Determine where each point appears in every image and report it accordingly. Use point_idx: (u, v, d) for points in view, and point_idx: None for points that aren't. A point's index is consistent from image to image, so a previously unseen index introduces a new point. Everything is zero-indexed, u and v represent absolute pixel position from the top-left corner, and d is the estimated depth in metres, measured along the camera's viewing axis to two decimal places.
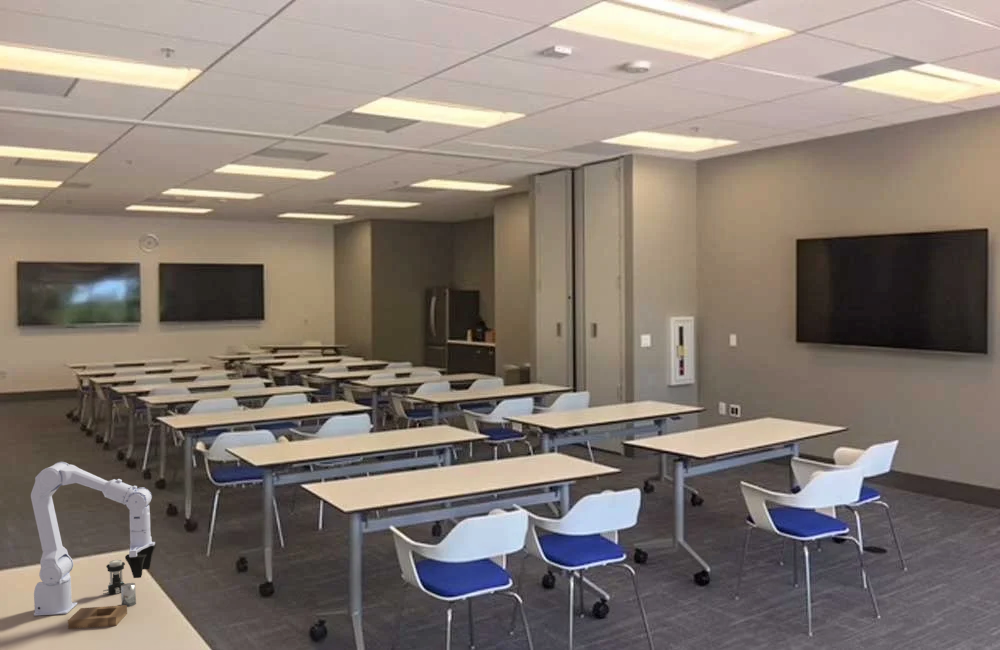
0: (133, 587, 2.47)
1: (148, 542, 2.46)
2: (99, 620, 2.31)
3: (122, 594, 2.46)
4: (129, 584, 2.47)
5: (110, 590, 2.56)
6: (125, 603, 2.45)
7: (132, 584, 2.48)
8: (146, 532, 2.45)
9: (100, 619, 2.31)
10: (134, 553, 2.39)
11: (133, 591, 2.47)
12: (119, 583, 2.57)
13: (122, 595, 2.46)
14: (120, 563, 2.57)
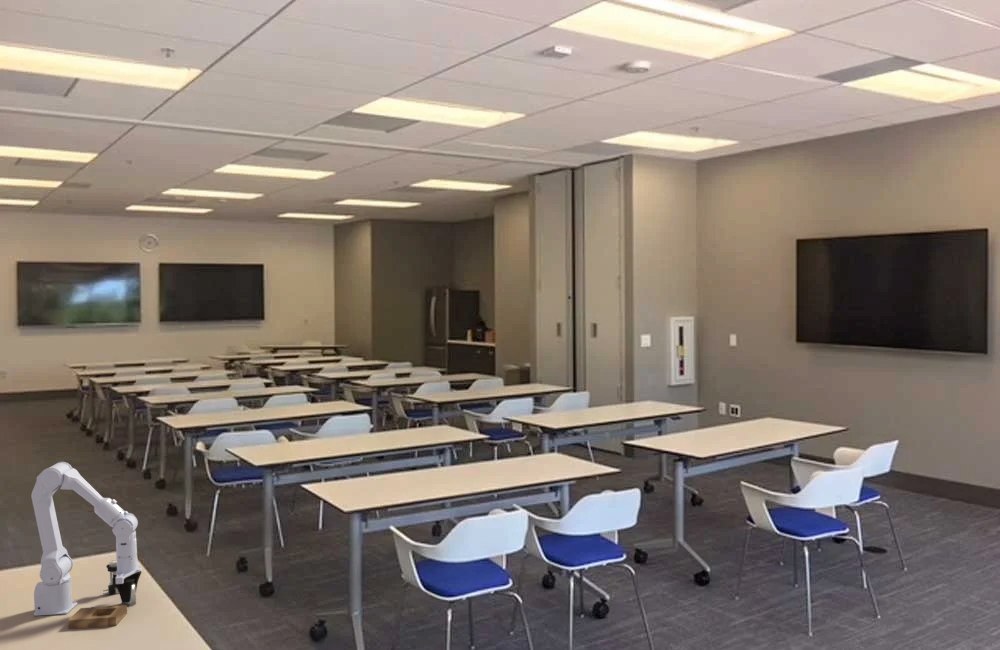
0: (133, 587, 2.47)
1: (135, 568, 2.46)
2: (99, 620, 2.31)
3: None
4: None
5: (110, 590, 2.56)
6: (125, 603, 2.45)
7: None
8: (133, 558, 2.45)
9: (100, 619, 2.31)
10: (121, 579, 2.40)
11: (133, 591, 2.47)
12: None
13: None
14: None
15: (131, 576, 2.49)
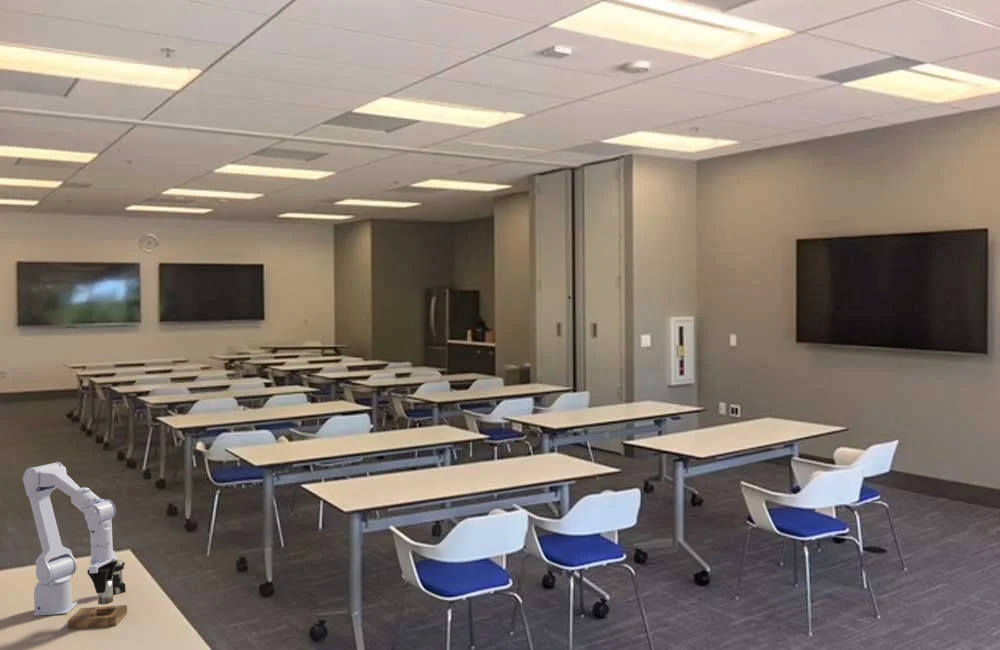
0: (110, 583, 2.35)
1: (110, 557, 2.34)
2: (99, 620, 2.31)
3: None
4: (106, 581, 2.36)
5: None
6: (102, 600, 2.33)
7: (109, 580, 2.36)
8: (108, 547, 2.33)
9: (100, 619, 2.31)
10: (95, 568, 2.28)
11: (110, 587, 2.35)
12: (119, 583, 2.57)
13: None
14: (120, 563, 2.57)
15: (106, 565, 2.37)
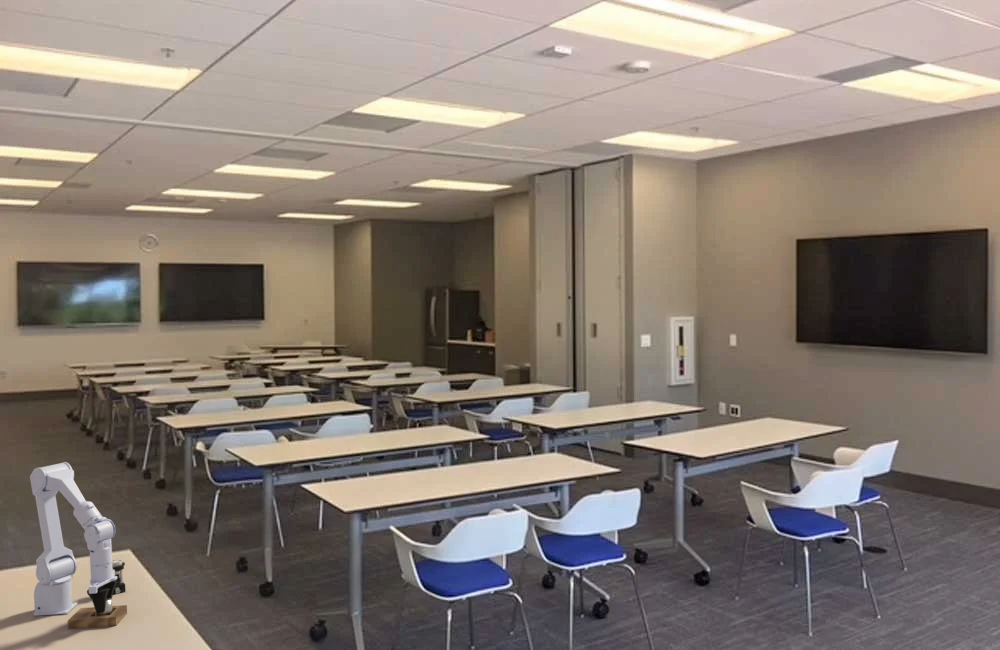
0: (110, 602, 2.35)
1: (110, 577, 2.34)
2: (99, 620, 2.31)
3: None
4: None
5: None
6: None
7: (109, 599, 2.35)
8: (107, 566, 2.33)
9: (100, 619, 2.31)
10: (94, 589, 2.28)
11: (110, 606, 2.35)
12: (119, 583, 2.57)
13: None
14: (120, 563, 2.57)
15: (106, 585, 2.37)
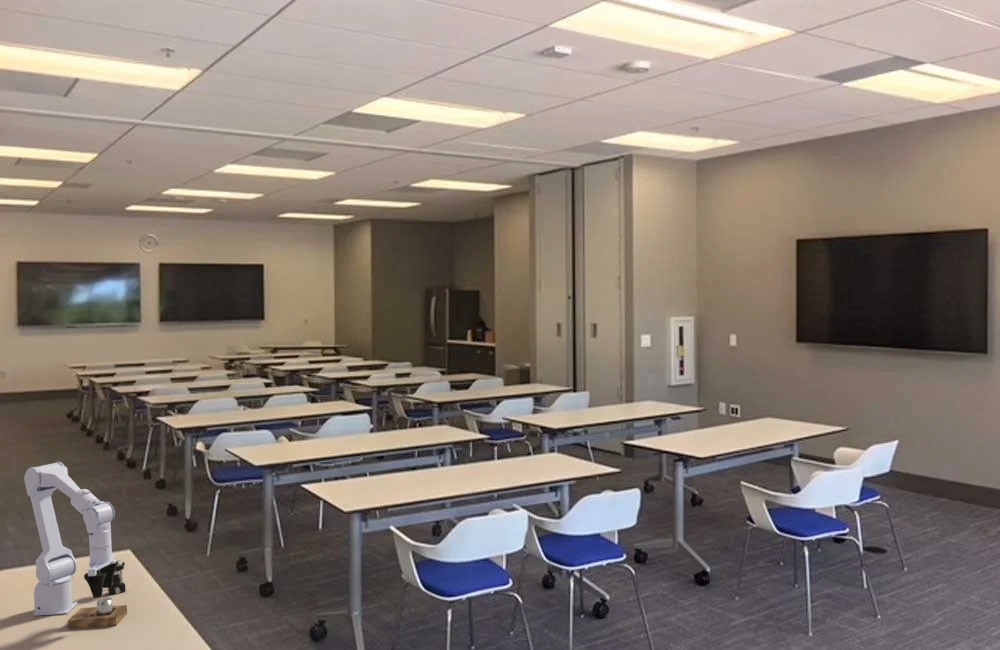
0: (110, 602, 2.35)
1: (109, 560, 2.34)
2: (99, 620, 2.31)
3: (98, 610, 2.33)
4: (105, 599, 2.35)
5: (110, 590, 2.56)
6: None
7: (109, 599, 2.35)
8: (106, 549, 2.33)
9: (100, 619, 2.31)
10: (93, 571, 2.27)
11: (110, 606, 2.34)
12: (119, 583, 2.57)
13: (98, 611, 2.33)
14: (120, 563, 2.57)
15: (107, 566, 2.38)
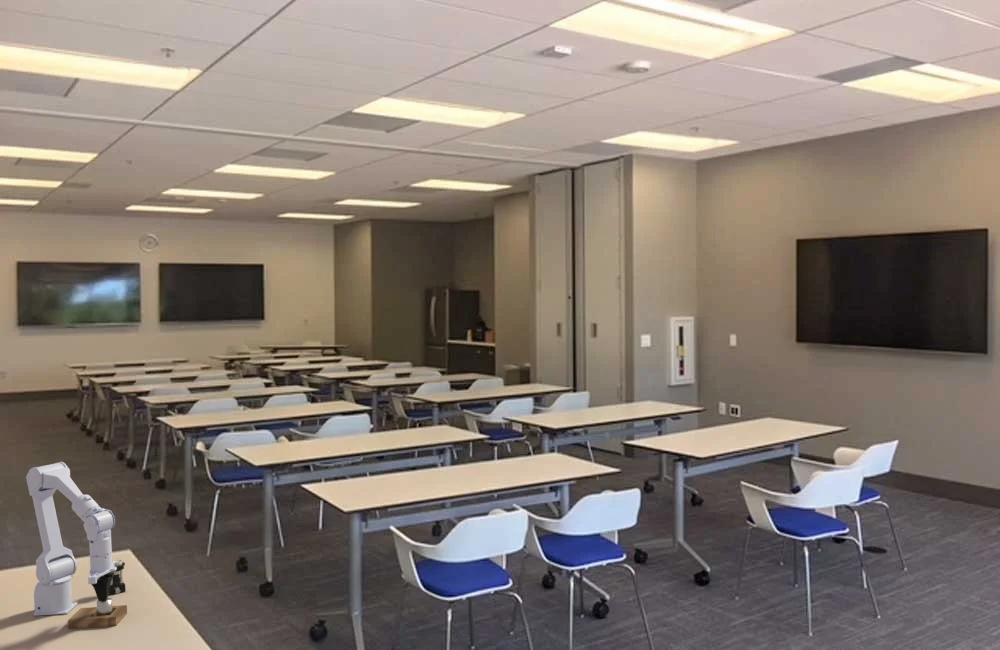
0: (110, 602, 2.35)
1: (109, 567, 2.34)
2: (99, 620, 2.31)
3: (98, 610, 2.33)
4: None
5: (110, 590, 2.56)
6: None
7: (109, 599, 2.35)
8: (107, 557, 2.33)
9: (100, 619, 2.31)
10: (94, 579, 2.27)
11: (110, 606, 2.34)
12: (119, 583, 2.57)
13: (98, 611, 2.33)
14: (120, 563, 2.57)
15: None
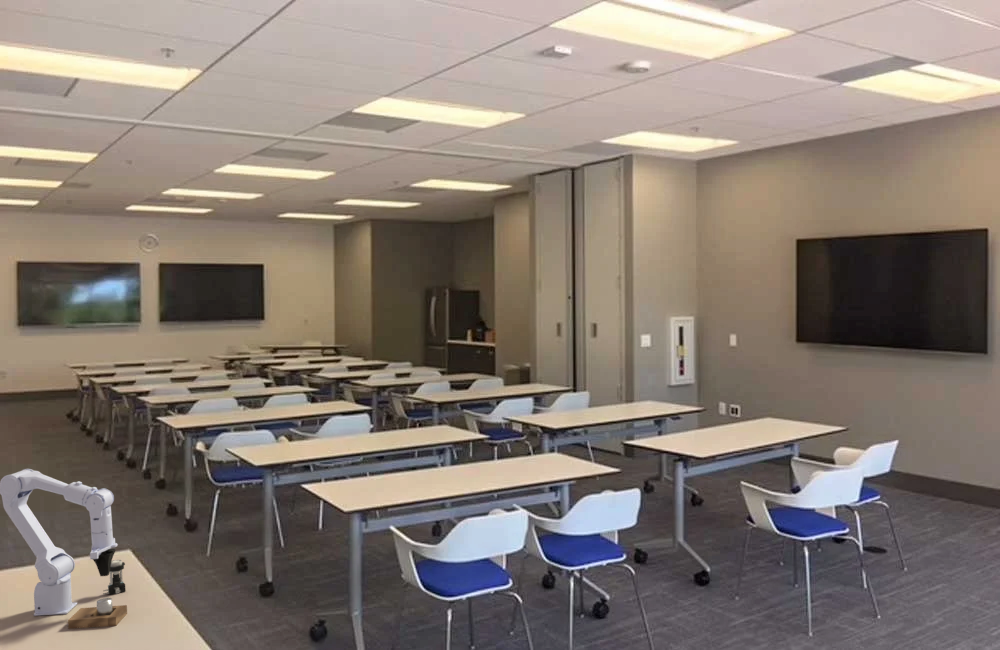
0: (110, 602, 2.35)
1: (110, 543, 2.42)
2: (99, 620, 2.31)
3: (98, 610, 2.33)
4: (105, 599, 2.35)
5: (110, 590, 2.56)
6: None
7: (109, 599, 2.35)
8: (108, 533, 2.41)
9: (100, 619, 2.31)
10: (95, 554, 2.36)
11: (110, 606, 2.34)
12: (119, 583, 2.57)
13: (98, 611, 2.33)
14: (120, 563, 2.57)
15: None
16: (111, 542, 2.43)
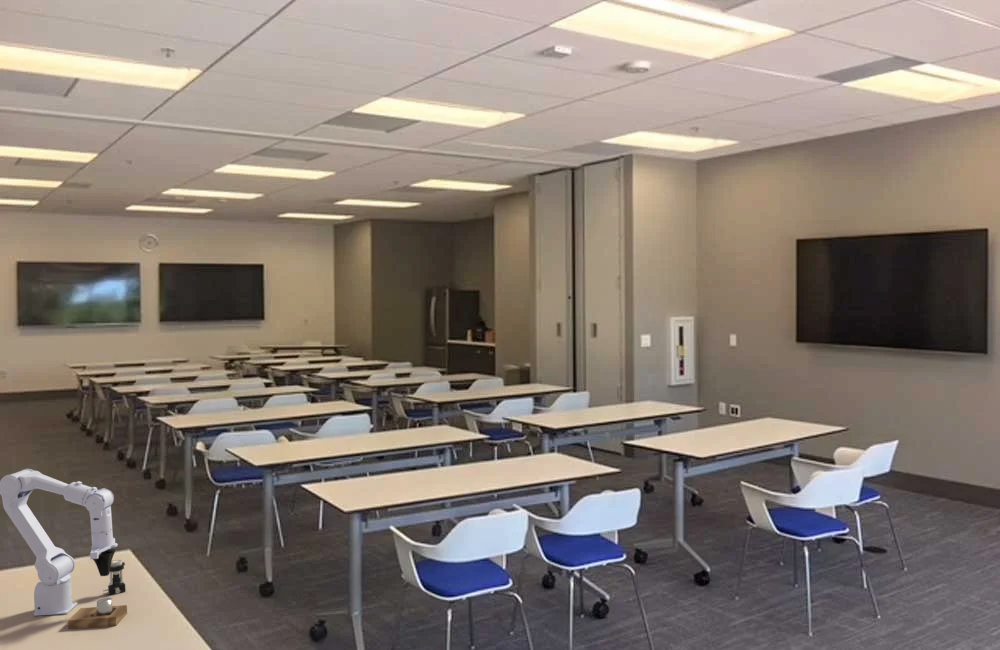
0: (110, 602, 2.35)
1: (110, 543, 2.42)
2: (99, 620, 2.31)
3: (98, 610, 2.33)
4: (105, 599, 2.35)
5: (110, 590, 2.56)
6: None
7: (109, 599, 2.35)
8: (108, 533, 2.41)
9: (100, 619, 2.31)
10: (95, 554, 2.36)
11: (110, 606, 2.34)
12: (119, 583, 2.57)
13: (98, 611, 2.33)
14: (120, 563, 2.57)
15: None
16: (111, 542, 2.43)
